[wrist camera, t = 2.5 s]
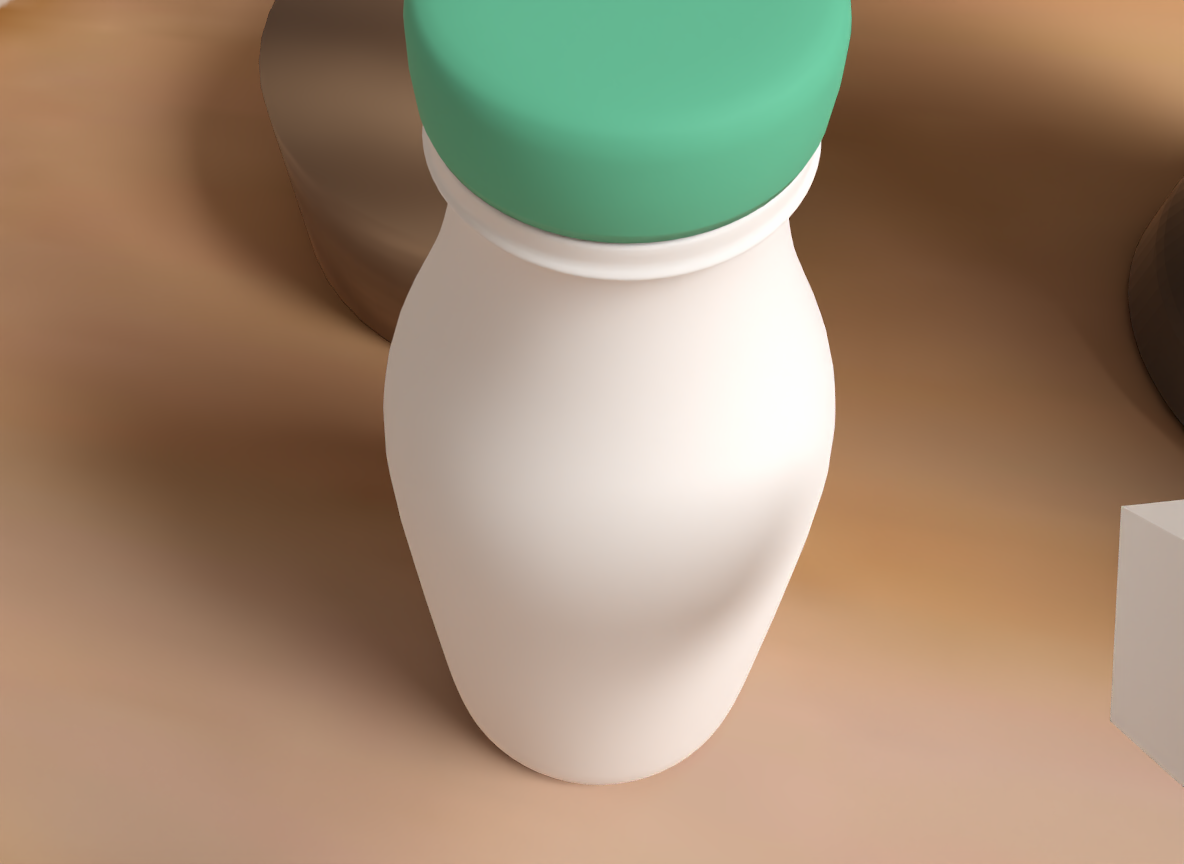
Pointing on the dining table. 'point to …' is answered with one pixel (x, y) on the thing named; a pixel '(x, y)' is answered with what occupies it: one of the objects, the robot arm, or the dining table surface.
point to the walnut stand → (353, 146)
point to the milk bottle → (612, 361)
